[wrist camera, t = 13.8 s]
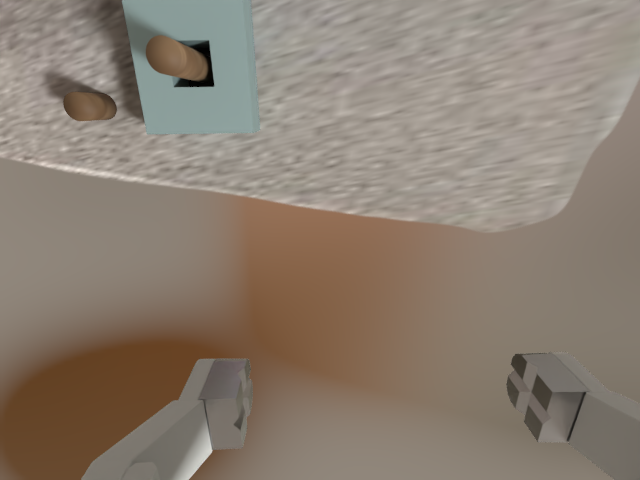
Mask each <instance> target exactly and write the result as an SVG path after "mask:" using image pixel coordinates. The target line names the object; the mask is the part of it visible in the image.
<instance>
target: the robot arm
mask: <svg viewBox="0 0 640 480" xmlns="http://www.w3.org/2000/svg"><path fill="white" fill-rule="evenodd" d="M511 365H512V367H513V368H514V371H513V372H512V373H511V374H510V375H509V376H508V379H507V392H508V396H509V398H510V401H511V403H512V404H513V406H514V407H515V408H516V409H517V410H518V411H520V412H521V413H523V414H524V415H525V418H524V422H525V424H526V425H527V427H528V428H529V430H530V431H531V433H532V434H533V436H534V437H535V439H536V440H537V442H569V443H568V444H569V445H570V446H572V447H573V448H574V449H576V450H577V451H578V452H580V453H581V454H582V455H584V456H585V457H586V458H587V459H588V460H590V461H591V462H592V463H594V464H595V465H596V466H597V467H599V468H600V469H601V470H603V471H604V472H605V473H606V474H608V475H609V476H610V477H612V478H613V479H614V480H640V404H639V403H637V402H635V401H633V400H631V399H629V398H627V397H625V396H623V395H621V394H619V393H617V392H610V391H609V390H607V389H606V388H605V387H604V386H603V385H602V384H601V383H600V382H599V381H598V380H597V379H596V378H595V377H594V376H593V375H592V374H591V373H590V372H589V371H588V370H587V369H586V368H585V367H584V366H583V365H582V364H581V363H579V362H578V361H577V360H576V359H575V358H574V357H573V356H572V355H571V354H569V353H567V352H551V353H526V354H515V355H514V356H513V358H512V362H511ZM250 370H251V368H250V361H249V360H248V359H199V360H198V361H197V362H196V364H195V366H194V368H193V370H192V372H191V375H190V377H189V379H188V381H187V383H186V385H185V387H184V389H183V392H182V394H181V396H180V398H179V400H178V401H172V402H171V403H169V404H168V405H167V406H166V407H164V408H163V409H162V410H160V411H159V412H158V413H156V414H155V415H154V416H152V417H151V418H150V419H148V420H147V421H146V422H145V423H143V424H142V425H141V426H139V427H138V428H136V429H135V430H134V431H132V432H131V433H130V434H129V435H127V436H126V437H125V438H123V439H122V440H121V441H119V442H118V443H117V444H115V445H114V446H113V447H112V448H110V449H109V450H107V451H106V452H105V453H104V454H102V455H101V456H99V457H98V458H97V459H96V460H94V461H93V462H92V463H91V465H90V466H89V468H88V469H87V471H86V473H85V474H84V476H83V477H82V479H81V480H189V479H190V477H191V476H192V475H193V473H194V472H195V471H196V470H197V469H198V468H199V467H200V466H201V464H202V463H203V462H204V461H205V460H206V458H207V457H208V456H209V455H210V454H211V452H212V450H216V449H235V448H243V444H244V439H245V435H246V430H247V421H246V417H247V416H248V415H249V414H250V412H251V407H252V397H253V387H252V381H251V380H250V379H249V374H250Z"/></svg>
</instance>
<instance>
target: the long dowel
mask: <svg viewBox="0 0 640 480" xmlns="http://www.w3.org/2000/svg"><path fill="white" fill-rule="evenodd" d="M146 57H147V60H148V63H149V64H150V66H151V67H152V68H153V69H154V70H155V71H157V72H159V73H161V74H165V75H170V76H174V77H179V78H184V79H188V80H193V81H197V82H202V83H211V82H213V81H214V78H213V69H212V61H211V57H209V56H207V55H205V54H203V53H201V52H198V51H196V50H194V49H192V48H190V47H188V46H186V45H184V44H182V43H179V42H177V41H175V40H173V39H171V38H169V37H167V36H163V35H158V36H155V37H153V38H151V39H150V40H149V42H148V44H147V46H146Z"/></svg>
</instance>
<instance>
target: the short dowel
mask: <svg viewBox="0 0 640 480" xmlns="http://www.w3.org/2000/svg"><path fill="white" fill-rule="evenodd" d="M64 108H65V111H66V112H67V114H68V115H69V116H70V117H71V118H73V119H75V120H77V121H91V120H107V119H111V118H113V117H114V116H115V114H116V111H117V108H116V104H115V102H114V100H113V99H112V98H111V97H110V96H108V95H106V94H103V93H86V92H70V93H68V94H67V95H66V96H65V98H64Z"/></svg>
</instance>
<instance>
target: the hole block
mask: <svg viewBox="0 0 640 480" xmlns="http://www.w3.org/2000/svg"><path fill="white" fill-rule="evenodd" d="M122 4H123V10H124V15H125V20H126V26H127V31H128V36H129V41H130V47H131V52H132V57H133V63H134V68H135V73H136V79H137V84H138V89H139V94H140V100H141V105H142V110H143V116H144V121H145V126H146V132H147V134H206V133H254V132H257V131H259V130H260V121H259V107H258V93H257V79H256V66H255V52H254V38H253V25H252V11H251V0H122ZM158 35H163V36H167V37H169V38H171V39H173V40H175V41H177V42H179V43H182V44H184V45H186V46H188V47H190V48H210V52H211V61H212V69H213V78H214V87H189V82H188V79H184V78H179V77H174V76H170V75H165V74H161V73H159V72H157V71H155V70H154V69H153V68H152V67H151V66H150V64H149V63H148V60H147V57H146V46H147V44H148V42H149V40H150V39H151V38H153V37H155V36H158Z"/></svg>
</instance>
